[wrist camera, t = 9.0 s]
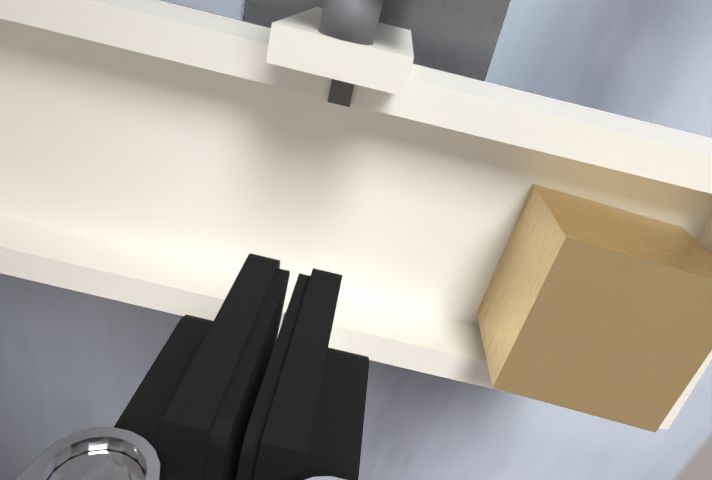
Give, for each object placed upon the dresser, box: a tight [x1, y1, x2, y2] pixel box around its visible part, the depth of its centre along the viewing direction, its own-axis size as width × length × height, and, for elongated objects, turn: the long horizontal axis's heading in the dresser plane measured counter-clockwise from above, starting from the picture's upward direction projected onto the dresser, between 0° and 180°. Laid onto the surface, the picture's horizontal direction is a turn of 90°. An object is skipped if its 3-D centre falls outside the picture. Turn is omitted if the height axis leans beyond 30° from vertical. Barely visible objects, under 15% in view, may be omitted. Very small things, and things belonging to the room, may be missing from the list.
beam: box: [0, 0, 712, 430], centre depth 18 cm, size 13×26×9 cm, turn 77°
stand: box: [243, 0, 510, 81], centre depth 19 cm, size 16×10×13 cm, turn 167°
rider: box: [477, 184, 712, 432], centre depth 17 cm, size 5×5×4 cm
